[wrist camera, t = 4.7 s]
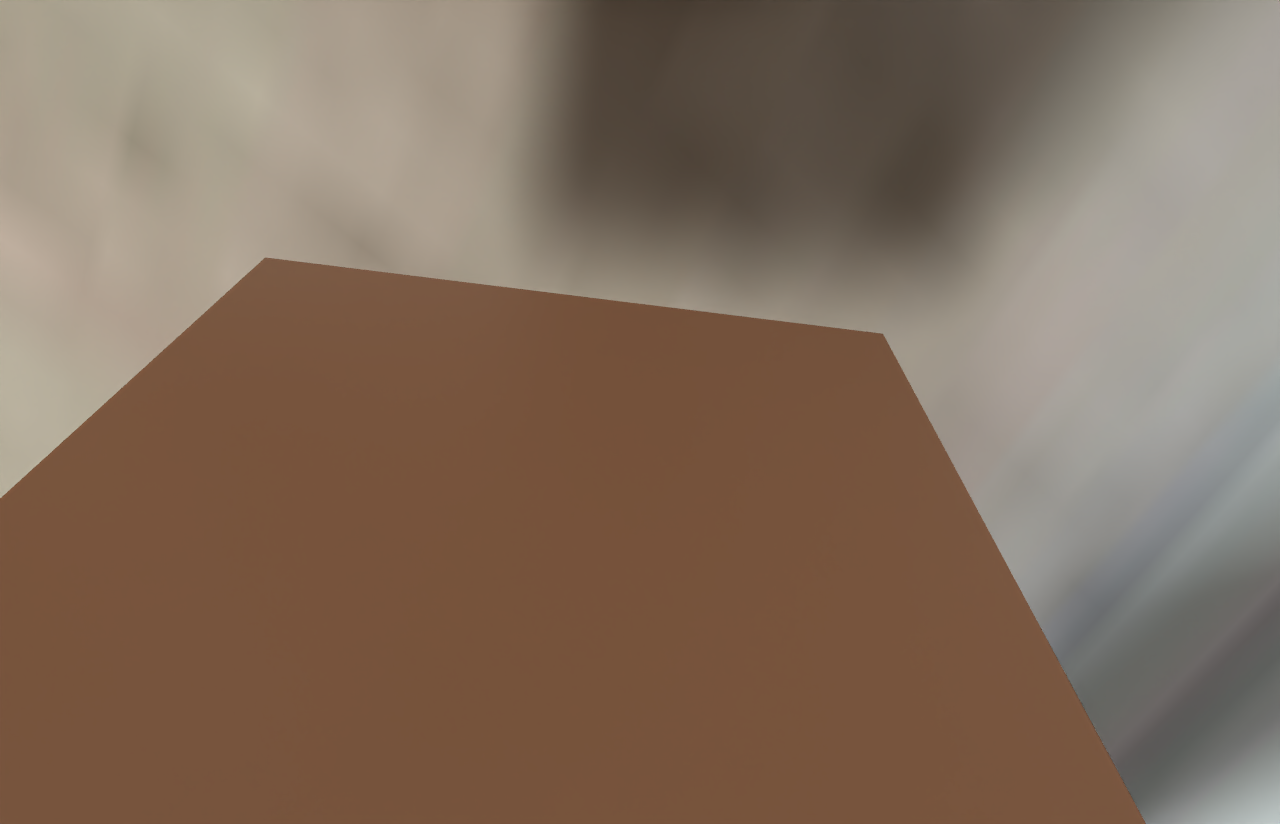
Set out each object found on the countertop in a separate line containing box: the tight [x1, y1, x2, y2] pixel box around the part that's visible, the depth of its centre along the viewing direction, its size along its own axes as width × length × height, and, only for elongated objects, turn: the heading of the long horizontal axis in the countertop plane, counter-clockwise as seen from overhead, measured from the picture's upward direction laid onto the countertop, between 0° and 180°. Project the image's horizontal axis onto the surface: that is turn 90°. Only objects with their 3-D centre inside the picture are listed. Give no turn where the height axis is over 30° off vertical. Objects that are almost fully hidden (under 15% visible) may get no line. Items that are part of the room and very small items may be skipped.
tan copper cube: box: [0, 258, 1146, 824], centre depth 7 cm, size 6×6×7 cm
